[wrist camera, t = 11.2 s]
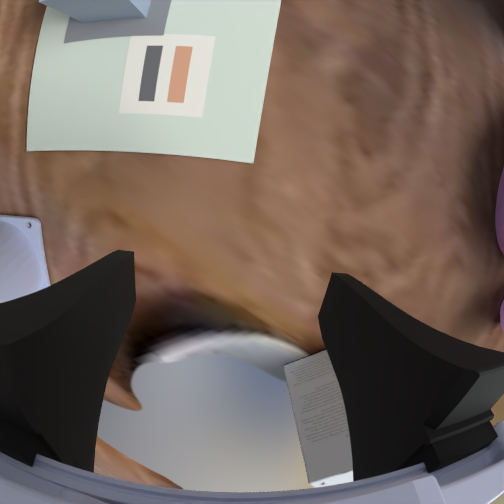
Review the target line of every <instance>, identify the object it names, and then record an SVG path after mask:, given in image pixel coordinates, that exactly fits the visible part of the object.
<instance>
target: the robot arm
mask: <svg viewBox="0 0 504 504" xmlns="http://www.w3.org/2000/svg"><path fill="white" fill-rule="evenodd" d="M29 222H30V223H31V226H30V225H29ZM135 302H136V291H135V270H134V252H131V251H123V250H117V251H114V252H112V253H110V254H108V255H107V256H105V257H103V258H101V259H100V260H98V261H96V262H94V263H93V264H91V265H89V266H87V267H86V268H84V269H82V270H80V271H78V272H76V273H75V274H73V275H71V276H69V277H67V278H65V279H63V280H61V281H59V282H57V283H55V284H53V285H50V281H49V275H48V270H47V264H46V259H45V252H44V245H43V238H42V230H41V223H40V221H39V220H38V219H37V218H32V217H21V216H9V215H0V504H489V503H491V502H492V501H494V500H495V499H496V498H498V497H499V496H500V495H501V494H503V493H504V419H503V420H501V421H500V422H498V423H497V424H496V425H494V426H492V424H491V423H490V420H492V419H493V417H494V414H493V413H492V411H491V408H492V407H493V405H494V404H495V403H496V402H497V401H498V400H499V398H500V397H501V396H502V395H503V394H504V352H500V351H495V350H491V349H487V348H483V347H479V346H476V345H473V344H470V343H467V342H464V341H462V340H459V339H456V338H454V337H451V336H449V335H447V334H445V333H442V332H440V331H438V330H436V329H434V328H432V327H430V326H428V325H426V324H424V323H422V322H421V321H419V320H417V319H415V318H413V317H412V316H410V315H408V314H407V313H405V312H404V311H402V310H401V309H399V308H398V307H396V306H395V305H393V304H392V303H390V302H389V301H387V300H386V299H384V298H383V297H382V296H380V295H379V294H377V293H376V292H374V291H373V290H372V289H370V288H369V287H367V286H366V285H364V284H363V283H362V282H360V281H358V280H357V279H355V278H354V277H352V276H350V275H348V274H343V273H332V275H331V278H330V281H329V284H328V287H327V291H326V294H325V297H324V300H323V303H322V306H321V309H320V312H319V315H318V319H319V325H320V330H321V334H322V339H323V342H324V344H325V347H326V350H327V353H328V356H329V358H330V361H331V364H332V366H333V369H334V372H335V375H336V377H337V380H338V383H339V386H340V389H341V393H342V397H343V401H344V406H345V411H346V416H347V422H348V428H349V434H350V442H351V452H352V464H353V482H348V483H342V484H337V485H330V486H324V487H317V488H309V489H301V490H289V491H276V492H252V493H251V492H249V493H248V492H247V493H235V492H234V493H232V492H231V493H230V492H207V491H192V490H182V489H173V488H166V487H158V486H152V485H146V484H140V483H135V482H130V481H125V480H120V479H116V478H112V477H107V476H103V475H100V474H96V473H94V458H95V446H96V438H97V430H98V423H99V418H100V412H101V407H102V402H103V397H104V393H105V388H106V384H107V380H108V377H109V373H110V370H111V368H112V365H113V362H114V360H115V357H116V355H117V352H118V350H119V348H120V345H121V343H122V340H123V338H124V335H125V333H126V331H127V328H128V326H129V323H130V320H131V317H132V313H133V309H134V306H135Z"/></svg>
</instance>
